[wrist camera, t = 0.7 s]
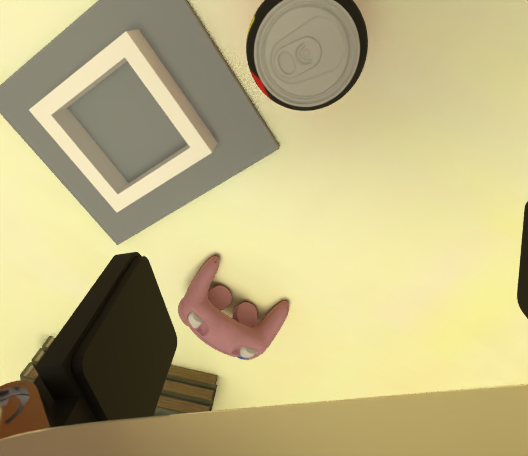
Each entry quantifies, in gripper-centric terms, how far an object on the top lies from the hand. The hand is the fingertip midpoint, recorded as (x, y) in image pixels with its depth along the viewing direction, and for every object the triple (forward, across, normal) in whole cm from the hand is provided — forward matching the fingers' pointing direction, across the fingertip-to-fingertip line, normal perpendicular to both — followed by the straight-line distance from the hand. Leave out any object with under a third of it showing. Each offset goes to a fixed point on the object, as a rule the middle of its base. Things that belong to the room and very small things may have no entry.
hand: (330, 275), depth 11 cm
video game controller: (+26, +10, +18) cm, 33 cm away
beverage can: (+25, -1, -4) cm, 26 cm away
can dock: (+26, +14, 0) cm, 29 cm away
